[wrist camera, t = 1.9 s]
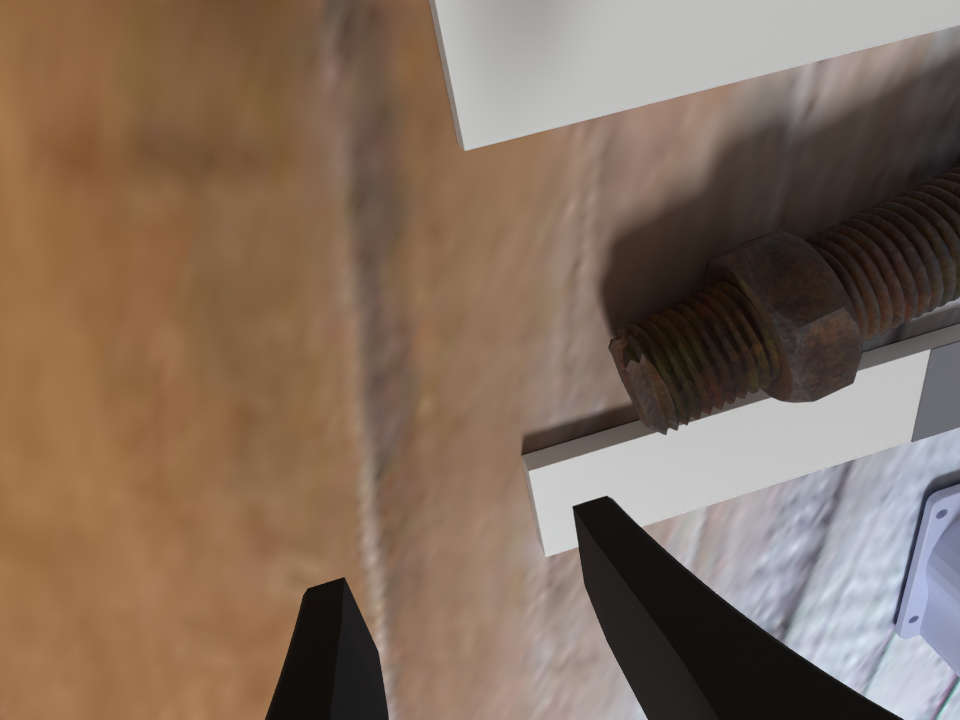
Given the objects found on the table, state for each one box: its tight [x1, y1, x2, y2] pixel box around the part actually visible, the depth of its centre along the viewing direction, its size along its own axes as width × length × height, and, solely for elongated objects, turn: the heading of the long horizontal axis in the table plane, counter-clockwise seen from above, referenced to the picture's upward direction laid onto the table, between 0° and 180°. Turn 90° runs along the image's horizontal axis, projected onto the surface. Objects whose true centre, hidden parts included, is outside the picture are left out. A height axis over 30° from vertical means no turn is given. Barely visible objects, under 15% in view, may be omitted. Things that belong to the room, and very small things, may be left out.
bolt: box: [608, 165, 960, 435], centre depth 18 cm, size 6×5×15 cm
